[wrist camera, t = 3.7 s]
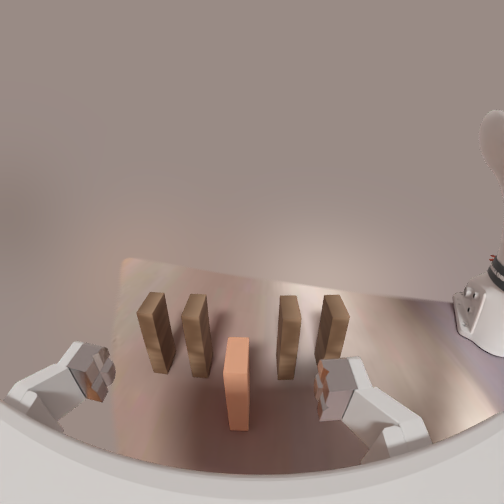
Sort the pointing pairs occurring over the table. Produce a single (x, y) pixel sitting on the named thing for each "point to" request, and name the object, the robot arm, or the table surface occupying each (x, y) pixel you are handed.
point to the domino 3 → (237, 383)
